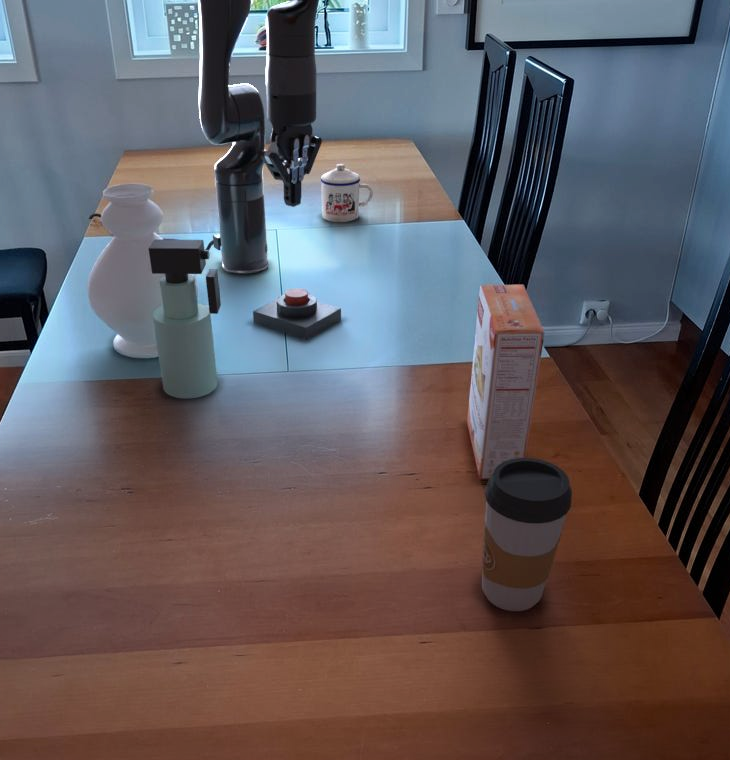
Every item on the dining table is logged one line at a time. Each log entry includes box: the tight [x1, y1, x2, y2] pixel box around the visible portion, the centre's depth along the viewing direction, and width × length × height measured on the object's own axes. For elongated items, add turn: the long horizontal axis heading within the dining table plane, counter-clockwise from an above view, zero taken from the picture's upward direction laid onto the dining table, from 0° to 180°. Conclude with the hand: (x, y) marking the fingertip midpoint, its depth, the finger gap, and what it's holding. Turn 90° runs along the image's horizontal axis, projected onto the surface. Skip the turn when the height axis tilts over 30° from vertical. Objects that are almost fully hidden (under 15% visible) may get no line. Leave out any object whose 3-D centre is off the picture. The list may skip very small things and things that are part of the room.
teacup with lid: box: [320, 163, 374, 223], centre depth 187 cm, size 12×9×12 cm
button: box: [284, 287, 309, 305], centre depth 141 cm, size 4×4×2 cm
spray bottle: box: [148, 239, 219, 400], centre depth 119 cm, size 9×8×22 cm
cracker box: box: [466, 284, 545, 480], centre depth 103 cm, size 14×6×21 cm, turn 178°
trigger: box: [205, 268, 222, 315], centre depth 116 cm, size 1×3×6 cm, turn 176°
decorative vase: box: [86, 182, 199, 359], centre depth 131 cm, size 18×18×25 cm
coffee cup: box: [481, 457, 573, 612], centre depth 83 cm, size 8×8×15 cm
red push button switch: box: [252, 293, 342, 340], centre depth 143 cm, size 12×10×4 cm
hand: (292, 204), depth 132 cm, fingers closed
